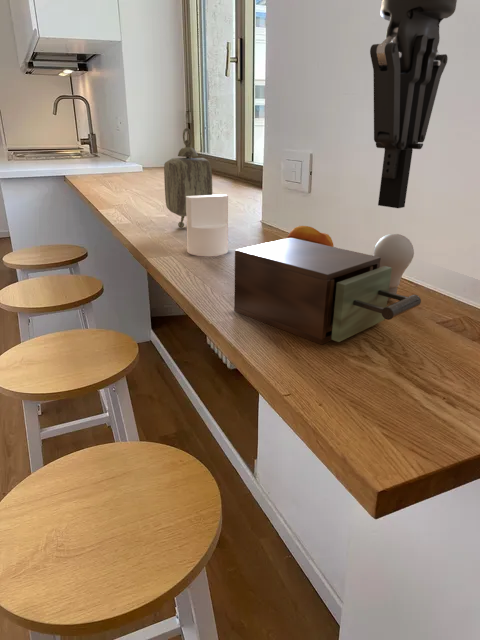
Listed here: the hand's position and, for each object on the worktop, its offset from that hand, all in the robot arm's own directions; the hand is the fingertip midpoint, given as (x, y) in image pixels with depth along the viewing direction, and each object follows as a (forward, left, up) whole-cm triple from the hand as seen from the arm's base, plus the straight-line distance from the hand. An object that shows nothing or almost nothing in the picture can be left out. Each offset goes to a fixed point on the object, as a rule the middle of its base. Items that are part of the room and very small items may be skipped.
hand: (391, 206), depth 59 cm
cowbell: (+74, -28, -18) cm, 82 cm away
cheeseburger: (+26, -18, -18) cm, 37 cm away
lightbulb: (+7, -16, -18) cm, 25 cm away
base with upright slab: (+51, -15, -18) cm, 56 cm away
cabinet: (+12, 0, -18) cm, 22 cm away
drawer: (+7, 0, -17) cm, 18 cm away
